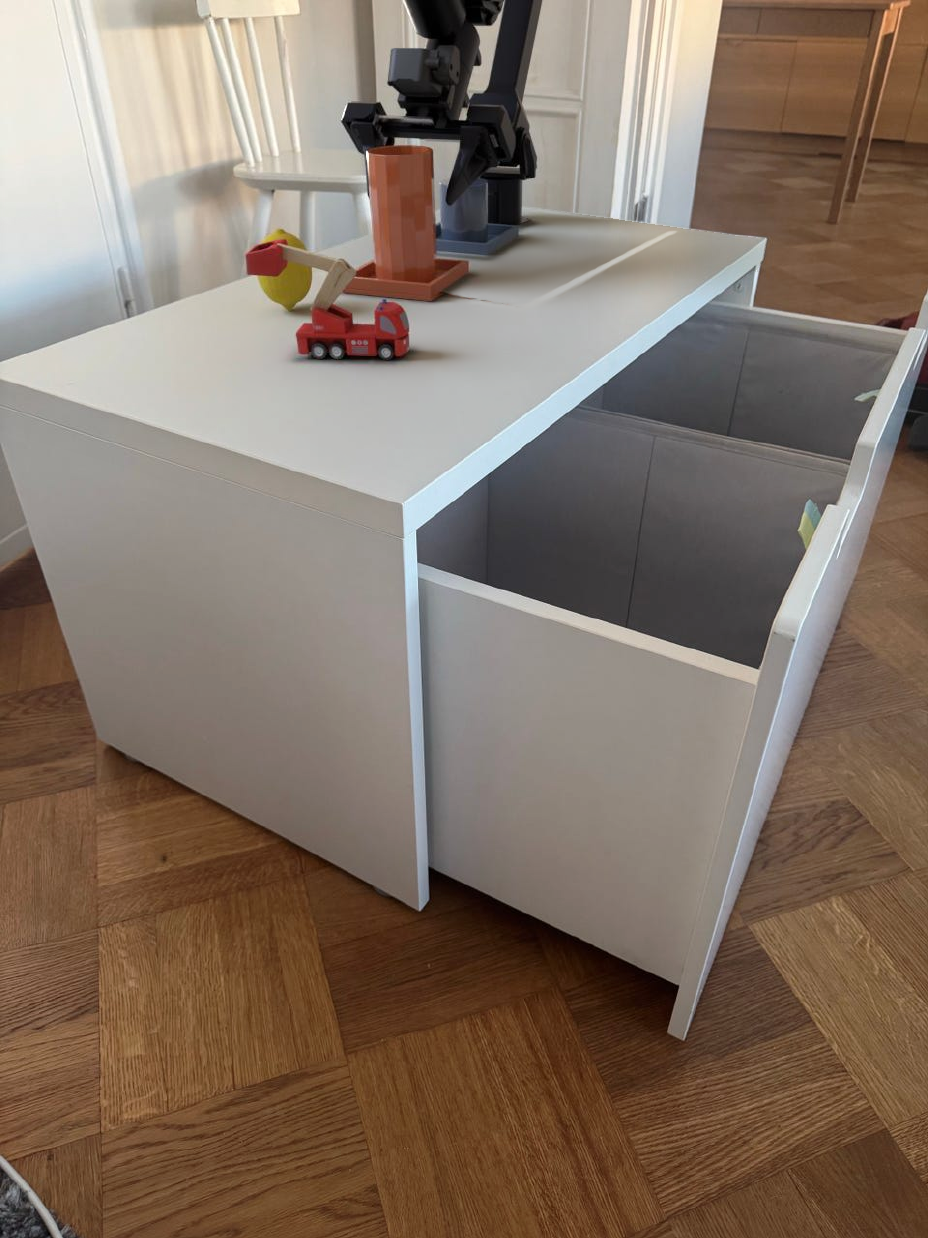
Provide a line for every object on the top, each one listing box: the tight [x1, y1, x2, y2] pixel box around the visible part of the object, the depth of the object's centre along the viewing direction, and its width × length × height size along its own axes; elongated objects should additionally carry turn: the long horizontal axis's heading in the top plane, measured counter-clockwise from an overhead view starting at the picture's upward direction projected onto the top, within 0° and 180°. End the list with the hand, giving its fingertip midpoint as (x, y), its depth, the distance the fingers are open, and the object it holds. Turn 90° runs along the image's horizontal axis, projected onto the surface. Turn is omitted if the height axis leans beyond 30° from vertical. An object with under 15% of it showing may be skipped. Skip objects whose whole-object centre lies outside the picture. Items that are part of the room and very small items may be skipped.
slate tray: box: [436, 221, 520, 256], centre depth 116 cm, size 11×11×2 cm
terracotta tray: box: [342, 257, 470, 302], centre depth 102 cm, size 11×11×2 cm
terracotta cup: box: [367, 144, 438, 283], centre depth 99 cm, size 7×7×13 cm
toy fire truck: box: [244, 238, 410, 361], centre depth 81 cm, size 3×14×10 cm, turn 84°
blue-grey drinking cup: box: [438, 178, 488, 243], centre depth 114 cm, size 6×6×7 cm
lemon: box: [257, 227, 313, 311], centre depth 93 cm, size 6×6×8 cm
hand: (408, 200), depth 99 cm, fingers open, 9 cm apart
